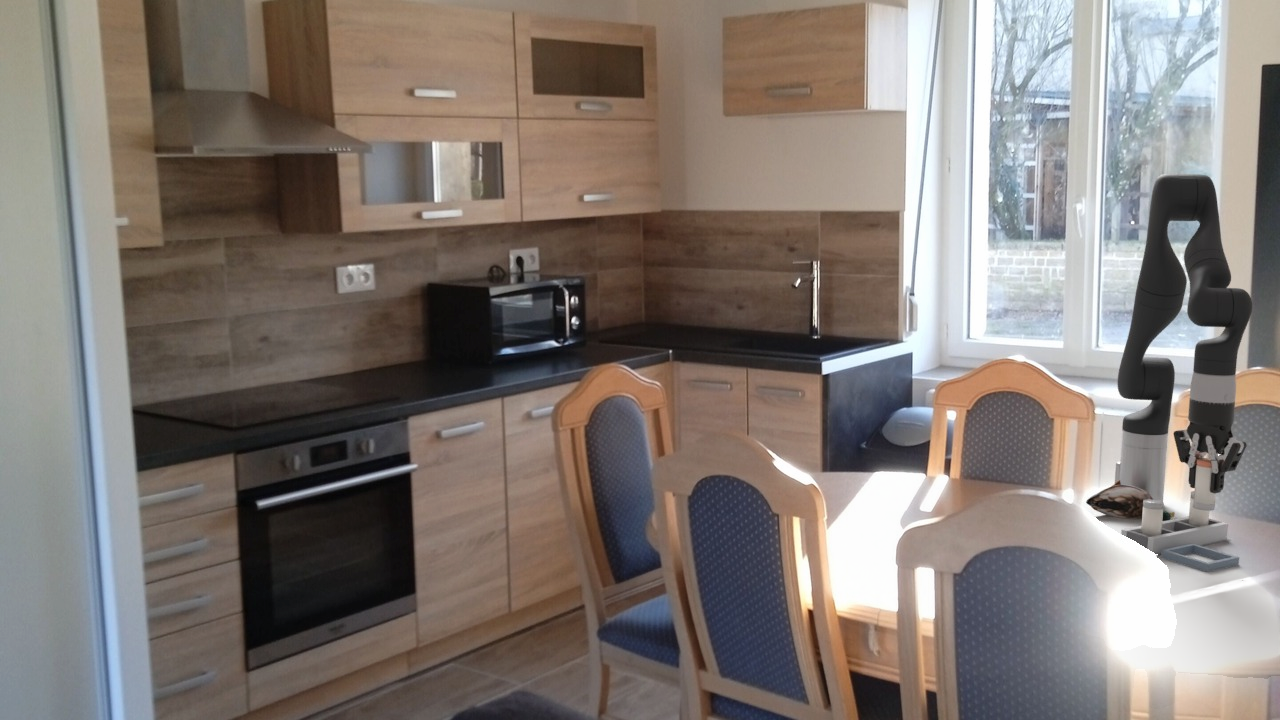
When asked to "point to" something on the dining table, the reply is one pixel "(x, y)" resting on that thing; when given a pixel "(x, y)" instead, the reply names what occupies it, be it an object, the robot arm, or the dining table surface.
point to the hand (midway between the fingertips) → (1205, 489)
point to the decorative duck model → (1122, 502)
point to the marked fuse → (1203, 486)
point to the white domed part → (1197, 514)
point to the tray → (1220, 563)
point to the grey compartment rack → (1179, 534)
